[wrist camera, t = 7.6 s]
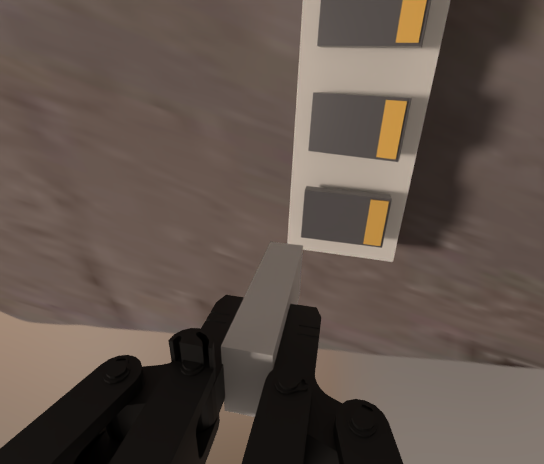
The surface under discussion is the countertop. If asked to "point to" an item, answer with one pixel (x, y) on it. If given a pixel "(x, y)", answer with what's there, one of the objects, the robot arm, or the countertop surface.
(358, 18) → the rocker
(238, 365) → the robot arm
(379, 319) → the countertop surface
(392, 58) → the rocker switch panel
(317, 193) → the block
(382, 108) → the rocker middle
